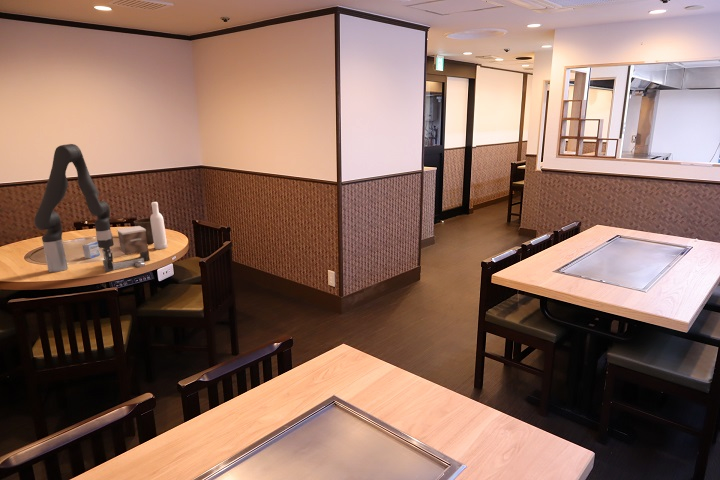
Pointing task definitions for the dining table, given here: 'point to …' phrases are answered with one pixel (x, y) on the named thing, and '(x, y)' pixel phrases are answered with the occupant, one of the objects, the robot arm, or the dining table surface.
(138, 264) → the steel token
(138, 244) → the walnut cabinet
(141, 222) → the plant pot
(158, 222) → the bottle
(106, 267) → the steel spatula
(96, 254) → the medicine box
